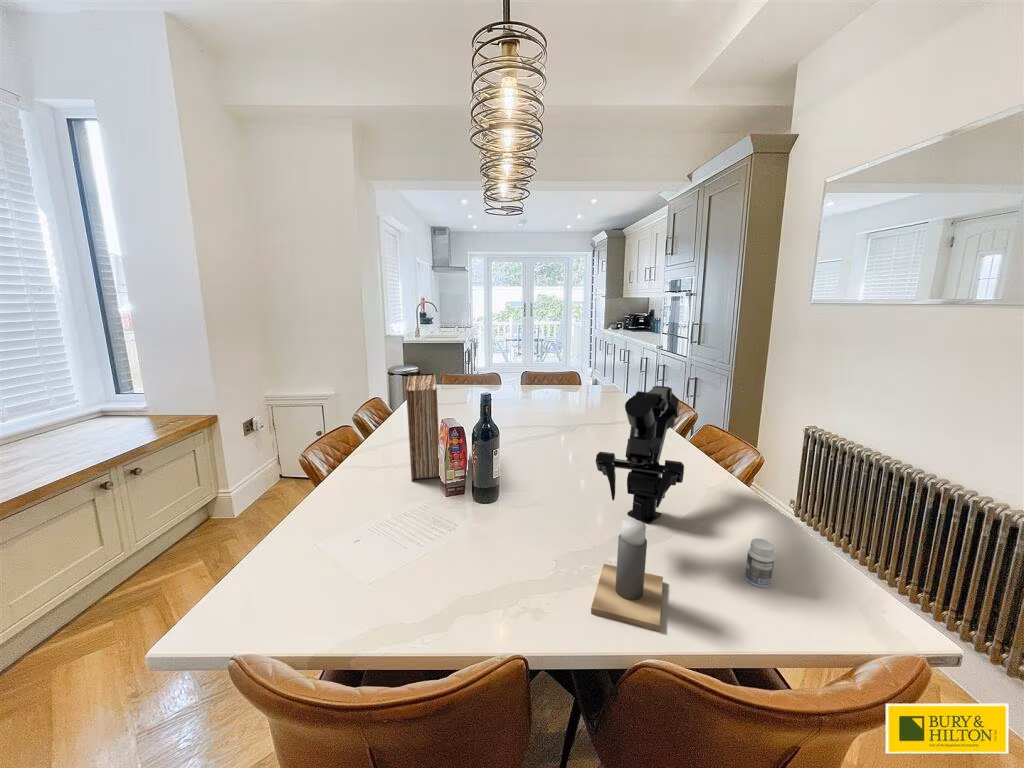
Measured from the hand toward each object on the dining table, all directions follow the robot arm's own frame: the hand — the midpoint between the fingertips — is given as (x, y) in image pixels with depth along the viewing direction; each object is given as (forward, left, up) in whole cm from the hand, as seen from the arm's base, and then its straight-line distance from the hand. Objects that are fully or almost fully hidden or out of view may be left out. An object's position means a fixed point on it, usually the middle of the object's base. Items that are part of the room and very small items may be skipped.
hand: (634, 503), depth 92 cm
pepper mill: (+11, +6, -12) cm, 17 cm away
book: (+6, -78, -14) cm, 79 cm away
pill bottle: (-13, +21, -14) cm, 29 cm away
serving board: (+11, +6, -14) cm, 18 cm away
